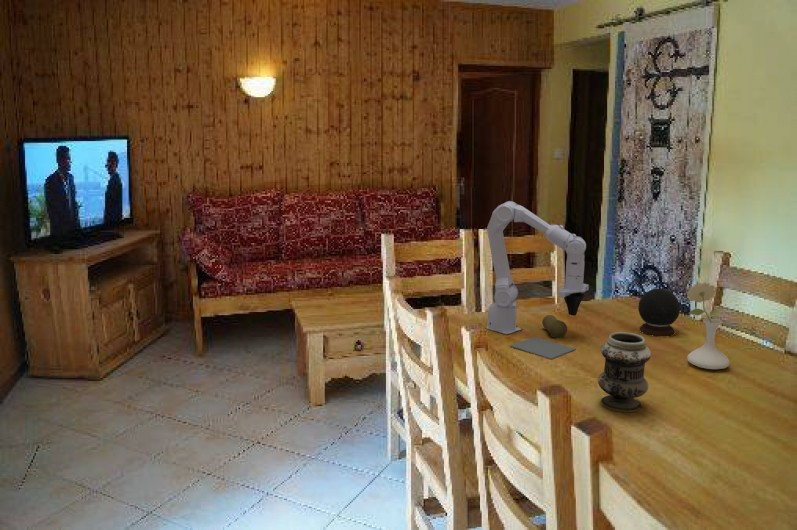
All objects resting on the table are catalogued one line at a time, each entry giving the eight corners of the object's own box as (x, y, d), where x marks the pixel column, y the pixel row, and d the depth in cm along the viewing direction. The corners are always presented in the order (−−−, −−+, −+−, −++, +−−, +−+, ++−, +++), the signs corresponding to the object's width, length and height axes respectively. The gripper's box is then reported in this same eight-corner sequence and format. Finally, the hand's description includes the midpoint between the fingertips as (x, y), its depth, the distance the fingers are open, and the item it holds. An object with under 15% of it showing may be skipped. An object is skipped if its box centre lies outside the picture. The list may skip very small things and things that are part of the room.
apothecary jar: (640, 418, 158) (646, 347, 154) (590, 407, 164) (595, 339, 160) (651, 401, 168) (656, 334, 164) (603, 391, 174) (608, 326, 170)
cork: (568, 336, 217) (557, 328, 228) (566, 319, 216) (555, 311, 227) (550, 340, 217) (541, 331, 228) (548, 322, 216) (538, 314, 227)
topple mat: (509, 346, 209) (509, 345, 209) (534, 337, 218) (534, 336, 218) (551, 359, 198) (551, 358, 197) (575, 349, 206) (575, 348, 206)
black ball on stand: (681, 329, 226) (684, 287, 223) (673, 340, 215) (677, 296, 212) (641, 323, 233) (644, 282, 230) (632, 333, 222) (635, 290, 219)
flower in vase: (728, 362, 195) (737, 280, 190) (729, 375, 185) (739, 289, 179) (681, 356, 200) (688, 276, 195) (679, 368, 190) (687, 285, 185)
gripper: (572, 280, 206) (570, 321, 209) (597, 273, 215) (595, 313, 218) (553, 276, 211) (551, 317, 214) (579, 269, 220) (576, 308, 223)
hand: (572, 314), depth 216 cm, fingers closed
